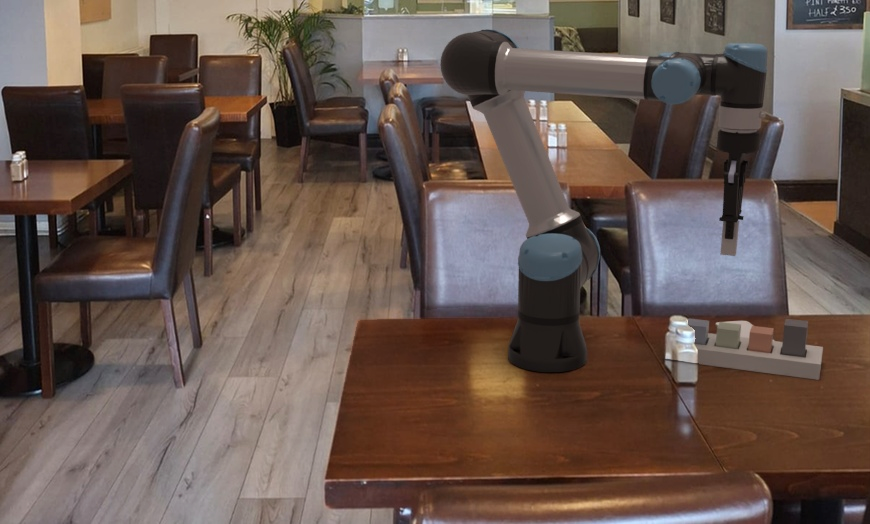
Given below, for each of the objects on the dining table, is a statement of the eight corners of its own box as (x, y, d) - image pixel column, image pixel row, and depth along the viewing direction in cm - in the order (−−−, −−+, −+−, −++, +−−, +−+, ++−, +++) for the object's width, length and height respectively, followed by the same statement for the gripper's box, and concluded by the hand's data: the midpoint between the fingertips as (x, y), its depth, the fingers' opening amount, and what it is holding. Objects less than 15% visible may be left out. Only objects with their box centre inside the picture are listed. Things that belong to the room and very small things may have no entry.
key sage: (714, 358, 199) (716, 328, 197) (717, 351, 202) (719, 322, 201) (736, 360, 197) (738, 330, 196) (738, 353, 201) (741, 324, 199)
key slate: (683, 353, 201) (684, 324, 200) (686, 347, 205) (688, 318, 203) (704, 356, 200) (706, 327, 198) (707, 349, 203) (709, 320, 202)
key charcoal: (781, 355, 194) (784, 325, 192) (783, 348, 198) (785, 318, 196) (804, 358, 192) (807, 327, 191) (805, 351, 196) (808, 321, 194)
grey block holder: (664, 359, 200) (665, 344, 199) (673, 343, 209) (674, 329, 208) (819, 379, 189) (820, 364, 189) (821, 361, 198) (823, 346, 198)
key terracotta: (747, 362, 197) (749, 332, 195) (749, 355, 200) (751, 325, 199) (769, 364, 195) (771, 334, 194) (771, 358, 199) (773, 328, 197)
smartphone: (746, 347, 206) (714, 322, 220) (746, 350, 206) (713, 325, 220) (780, 344, 207) (746, 320, 221) (780, 348, 207) (746, 323, 221)
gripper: (756, 136, 183) (744, 265, 189) (764, 126, 194) (753, 248, 201) (712, 133, 186) (702, 260, 192) (723, 123, 197) (713, 244, 203)
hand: (728, 254), depth 196 cm, fingers closed
